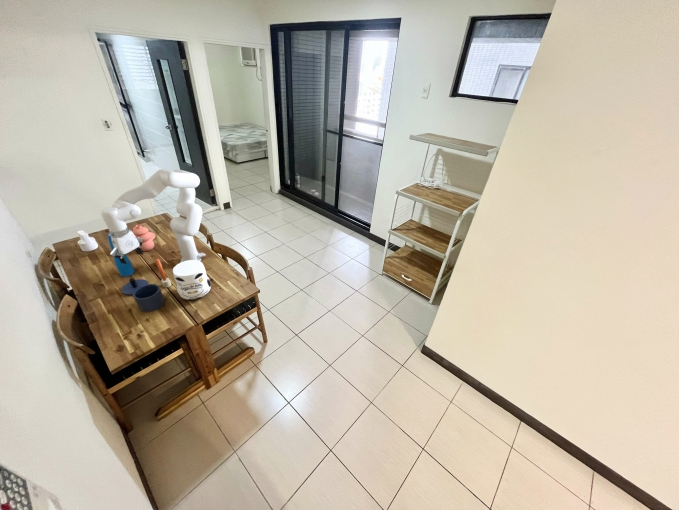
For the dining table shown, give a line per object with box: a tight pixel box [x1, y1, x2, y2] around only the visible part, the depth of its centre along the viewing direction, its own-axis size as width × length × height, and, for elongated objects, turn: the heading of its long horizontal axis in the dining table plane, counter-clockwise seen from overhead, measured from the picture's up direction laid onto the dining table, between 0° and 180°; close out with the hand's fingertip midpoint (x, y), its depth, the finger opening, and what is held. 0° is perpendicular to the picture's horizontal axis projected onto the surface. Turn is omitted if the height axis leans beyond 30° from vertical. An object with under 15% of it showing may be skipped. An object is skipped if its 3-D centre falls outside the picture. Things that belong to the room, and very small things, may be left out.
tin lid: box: [121, 277, 149, 296], centre depth 158 cm, size 13×13×6 cm
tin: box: [132, 283, 166, 313], centre depth 147 cm, size 12×12×9 cm
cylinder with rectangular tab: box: [76, 229, 99, 252], centre depth 186 cm, size 9×9×12 cm
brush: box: [155, 258, 172, 289], centre depth 157 cm, size 4×4×19 cm
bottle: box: [104, 228, 136, 277], centre depth 162 cm, size 7×7×30 cm
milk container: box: [172, 260, 212, 301], centre depth 154 cm, size 17×17×18 cm
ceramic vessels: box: [131, 224, 156, 252], centre depth 194 cm, size 35×21×19 cm, turn 46°
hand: (132, 258), depth 149 cm, fingers open, 9 cm apart
